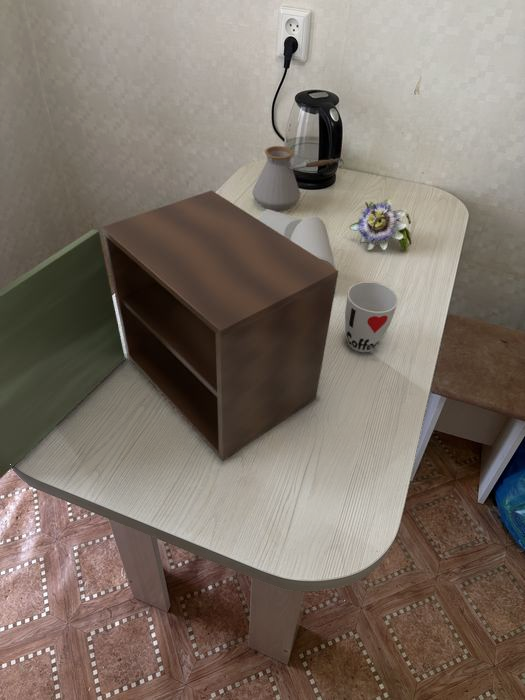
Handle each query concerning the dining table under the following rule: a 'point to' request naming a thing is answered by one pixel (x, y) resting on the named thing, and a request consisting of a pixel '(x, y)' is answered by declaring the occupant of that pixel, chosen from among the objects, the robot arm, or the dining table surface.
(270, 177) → the coffee pot
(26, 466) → the dining table surface
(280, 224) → the elbow connector
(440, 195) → the dining table surface
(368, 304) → the cup
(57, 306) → the cabinet door
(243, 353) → the cabinet
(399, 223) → the passion flower
